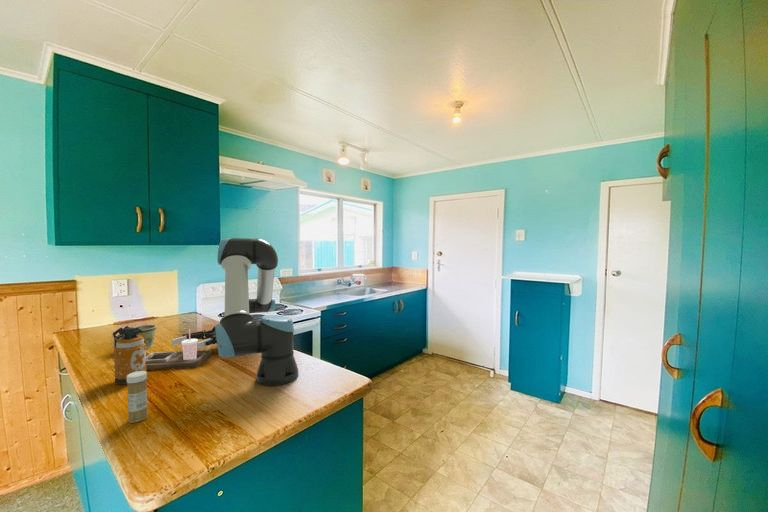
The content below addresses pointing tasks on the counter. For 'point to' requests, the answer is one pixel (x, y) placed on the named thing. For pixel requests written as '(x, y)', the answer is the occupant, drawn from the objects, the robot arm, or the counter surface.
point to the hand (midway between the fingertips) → (185, 344)
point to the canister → (128, 353)
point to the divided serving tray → (173, 360)
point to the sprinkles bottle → (137, 396)
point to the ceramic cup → (147, 334)
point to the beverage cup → (189, 348)
